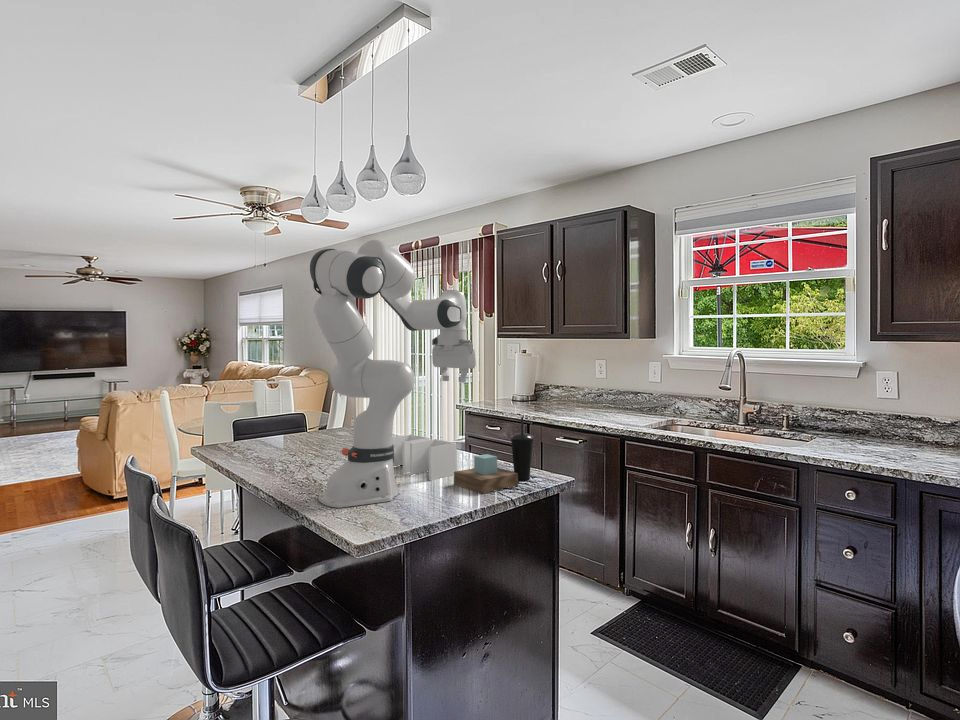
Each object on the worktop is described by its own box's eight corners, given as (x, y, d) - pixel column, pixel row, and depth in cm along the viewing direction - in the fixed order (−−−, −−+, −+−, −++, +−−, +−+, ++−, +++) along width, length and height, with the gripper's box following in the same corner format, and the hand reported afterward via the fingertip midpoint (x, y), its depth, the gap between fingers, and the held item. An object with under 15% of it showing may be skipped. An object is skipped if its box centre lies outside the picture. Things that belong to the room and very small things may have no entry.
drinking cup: (535, 481, 175) (535, 418, 175) (511, 481, 175) (511, 418, 175) (532, 475, 183) (532, 415, 183) (509, 476, 183) (509, 415, 183)
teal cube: (497, 472, 170) (497, 456, 170) (484, 475, 167) (484, 458, 167) (487, 469, 174) (487, 454, 174) (474, 472, 171) (474, 456, 171)
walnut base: (481, 493, 161) (481, 480, 161) (454, 484, 172) (454, 471, 172) (517, 486, 170) (517, 473, 170) (489, 477, 181) (489, 465, 181)
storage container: (456, 475, 185) (456, 442, 184) (431, 481, 177) (430, 447, 177) (410, 464, 202) (410, 434, 202) (385, 469, 195) (385, 438, 194)
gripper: (480, 339, 177) (480, 382, 177) (444, 340, 193) (444, 379, 193) (464, 339, 173) (464, 383, 173) (428, 340, 189) (429, 380, 190)
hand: (453, 381), depth 184 cm, fingers open, 8 cm apart
